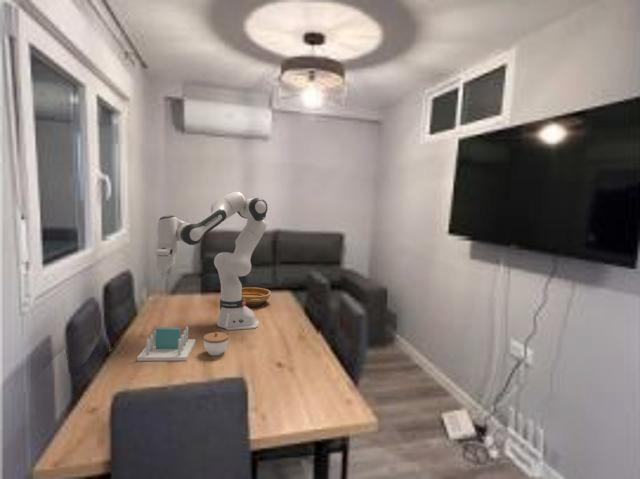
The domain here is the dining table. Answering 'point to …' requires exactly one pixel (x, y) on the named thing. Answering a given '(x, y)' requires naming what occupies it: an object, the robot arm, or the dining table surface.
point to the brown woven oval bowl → (255, 295)
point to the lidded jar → (215, 343)
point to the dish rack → (167, 354)
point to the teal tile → (167, 337)
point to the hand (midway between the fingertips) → (166, 276)
